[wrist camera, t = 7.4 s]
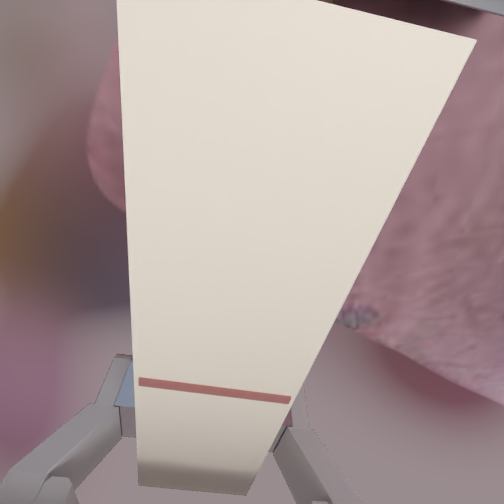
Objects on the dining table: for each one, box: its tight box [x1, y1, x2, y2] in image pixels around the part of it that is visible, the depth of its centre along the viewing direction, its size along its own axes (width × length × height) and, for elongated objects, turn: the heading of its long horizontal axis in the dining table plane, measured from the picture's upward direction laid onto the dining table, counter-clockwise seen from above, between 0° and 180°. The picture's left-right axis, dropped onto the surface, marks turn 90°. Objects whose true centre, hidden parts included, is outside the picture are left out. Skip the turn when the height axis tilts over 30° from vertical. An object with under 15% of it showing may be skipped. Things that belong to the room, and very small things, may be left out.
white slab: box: [117, 0, 477, 496], centre depth 8 cm, size 3×11×4 cm, turn 169°
